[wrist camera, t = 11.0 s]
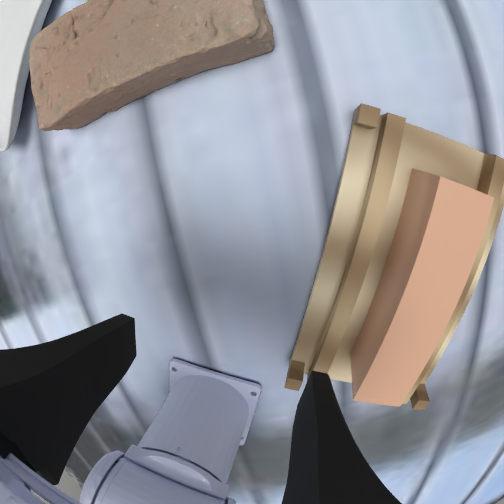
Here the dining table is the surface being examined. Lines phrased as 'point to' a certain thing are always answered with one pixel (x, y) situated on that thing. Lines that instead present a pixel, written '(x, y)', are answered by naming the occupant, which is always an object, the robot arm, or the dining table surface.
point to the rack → (382, 238)
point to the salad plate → (16, 58)
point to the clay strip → (418, 286)
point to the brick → (136, 52)
